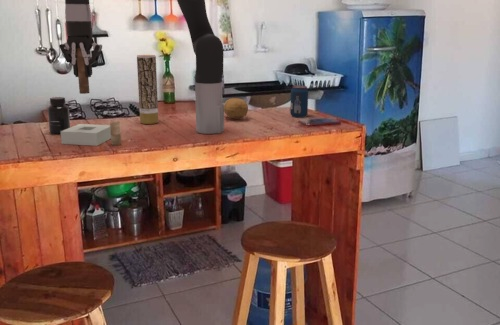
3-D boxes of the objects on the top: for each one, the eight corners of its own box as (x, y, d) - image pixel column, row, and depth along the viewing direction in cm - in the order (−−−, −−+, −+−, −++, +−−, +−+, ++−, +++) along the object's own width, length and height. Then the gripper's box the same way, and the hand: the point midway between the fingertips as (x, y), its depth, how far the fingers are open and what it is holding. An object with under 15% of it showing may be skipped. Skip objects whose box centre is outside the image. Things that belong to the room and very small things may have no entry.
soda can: (303, 114, 216) (304, 85, 213) (309, 117, 210) (311, 87, 207) (287, 115, 215) (288, 85, 211) (293, 118, 208) (294, 88, 205)
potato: (242, 114, 215) (242, 95, 213) (252, 121, 202) (253, 100, 200) (219, 116, 212) (218, 96, 210) (228, 122, 199) (228, 101, 197)
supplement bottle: (51, 135, 177) (47, 100, 174) (48, 131, 183) (45, 97, 180) (72, 133, 180) (69, 98, 177) (69, 129, 186) (66, 95, 183)
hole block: (113, 137, 175) (112, 125, 174) (97, 145, 164) (96, 133, 162) (80, 135, 177) (79, 123, 176) (61, 143, 166) (60, 131, 165)
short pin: (122, 143, 167) (121, 121, 165) (118, 145, 164) (117, 123, 162) (113, 142, 167) (112, 121, 165) (109, 145, 164) (108, 123, 163)
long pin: (91, 92, 167) (87, 47, 163) (86, 93, 164) (83, 48, 161) (82, 92, 168) (78, 47, 164) (77, 93, 165) (74, 48, 161)
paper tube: (154, 125, 194) (151, 56, 187) (137, 124, 195) (133, 56, 189) (161, 121, 201) (158, 54, 194) (144, 120, 202) (141, 54, 195)
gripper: (105, 20, 162) (109, 76, 167) (63, 19, 165) (68, 75, 170) (94, 20, 155) (98, 78, 160) (50, 19, 158) (56, 77, 162)
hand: (83, 76), depth 165 cm, fingers closed on long pin, 3 cm apart
